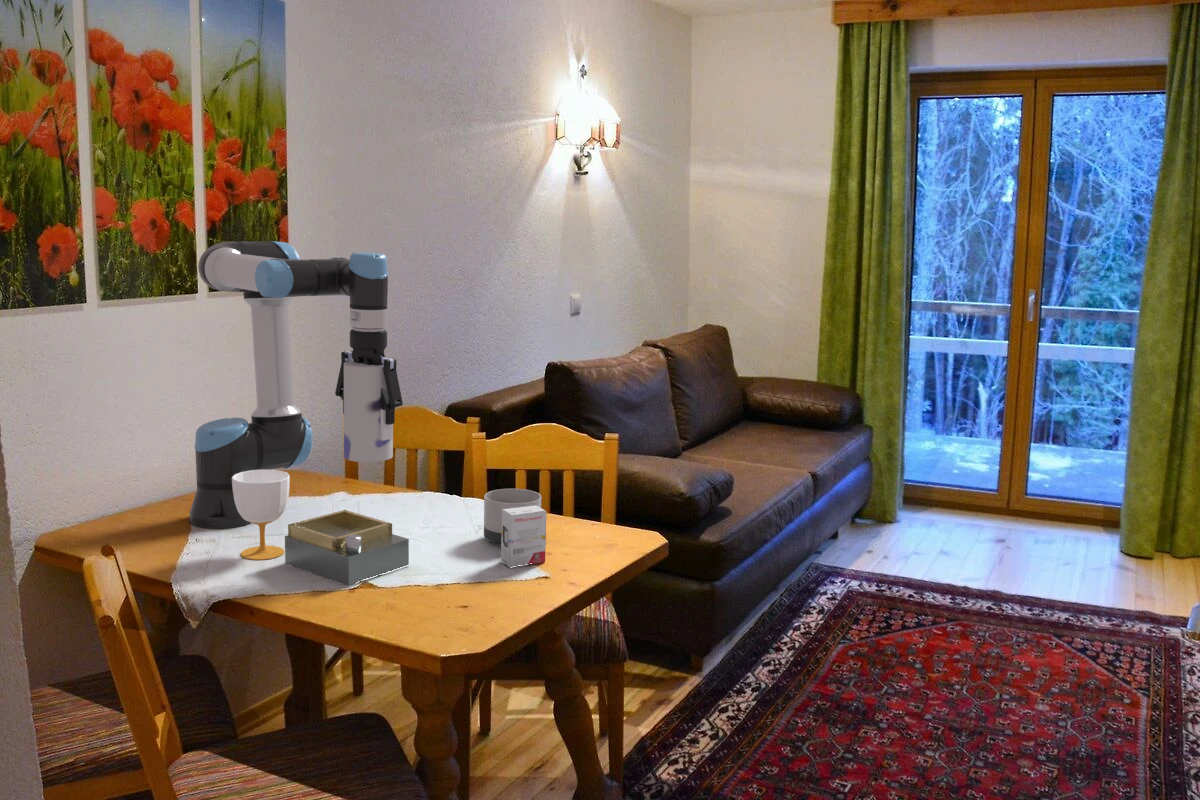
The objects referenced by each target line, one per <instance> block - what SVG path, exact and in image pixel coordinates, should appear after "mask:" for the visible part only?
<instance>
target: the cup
mask: <svg viewBox="0 0 1200 800" xmlns="http://www.w3.org/2000/svg"><path fill="white" fill-rule="evenodd" d="M290 478H291V476H290V474H289V473H288V472H286V471H282V470H278V469H272V470H250V471H245V472H240V473H238V474H235V475H234V476H233V477H232V488H233V495H234V501H235V505H236V508H237V511H238V512H239V514H240V515H241V517H242V518H243V519H244V520H246V521H248V522H251V523H250V524H254V525H258V527H259V546H252V547H248V548H245V549H243V550H242V551H241V552H240V556H241V557H242V558H244V559H246V560H251V561H266V560H268V561H269V560H273V559H277V558H279V557H282V556H283V555H285V548H282V547H280V546H276V545H266V538H265V537H266V535H265V534H266V525H268V524H271V523H273V522H275V521H277V520H279V518H281V517H282V515H283V513H284V512H285V511H286V509H287V505H288V502H289V496H290V484H291V483H290ZM281 555H282V556H281Z"/></svg>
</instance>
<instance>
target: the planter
mask: <svg viewBox="0 0 1200 800" xmlns="http://www.w3.org/2000/svg"><path fill="white" fill-rule="evenodd" d="M483 497H484V498H483V499H484V501H483V502H484V503H483V537H484V538H485V539H486V540H487V541H490V542H492V543H493V544H494V543H495V544H497V545H499V544H500V546H501V539H502V509H510V508H518V507H527V506H535V505H537V506H538V507H540V508H542V495H541V493H539V492H536V491H533V490H530V489H524V488H522V489H521V488H501V489H494V490H491V491H488V492H485V494H484V496H483Z"/></svg>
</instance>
